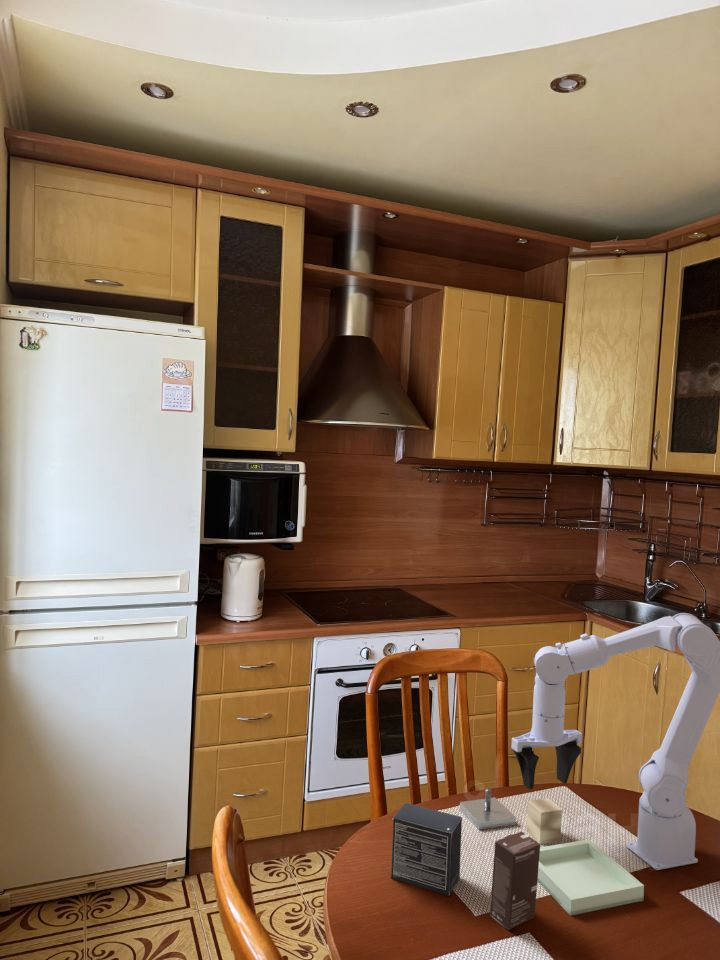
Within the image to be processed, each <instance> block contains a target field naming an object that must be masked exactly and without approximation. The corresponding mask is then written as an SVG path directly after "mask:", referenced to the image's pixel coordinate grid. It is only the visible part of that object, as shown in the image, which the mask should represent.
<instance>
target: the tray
mask: <svg viewBox="0 0 720 960" xmlns="http://www.w3.org/2000/svg"><path fill="white" fill-rule="evenodd" d="M537 883H539V884H540V885H541V886H542V888H544V889H545V890H546V892H547V893H548V894H549V895H550V896H551V897H552V898H553V899H554V900H555V901H556V902H557V903H558V904H559V905H560V907H562V909H564V911H565V912H567V914H568V915H569V916H575V915H581V914H586V913H590V912H594V911H601V910H604V909H610V908H614V907H618V906H619V907H620V906H623V905H624V906H625V905H629V904H633V903H639V902H644V896H645V894H644V893H645V885H644V884H643V883H642V882H640V881H639V879H637V878H636V877H634V875H633V874H631V872H629V871H627V869H625V868H624V867H623V866H622V865H620V864H619V863H618V861H616V860H615V859H613V858H612V857H611V856H610V855H608V854H607V852H605V851H604V850H602V848H601V847H599V845H597V844H596V843H594V842H593V841H592V840H591V839H583V840H577V841H572V842H567V843H566V842H565V843H559V844H552V845H547V846H540V854H539V867H538V880H537Z"/></svg>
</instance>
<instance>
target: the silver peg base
mask: <svg viewBox="0 0 720 960" xmlns="http://www.w3.org/2000/svg"><path fill="white" fill-rule="evenodd" d="M459 810H460V811H461V812H462V813H463V815H464V816H465V817H466V818H467V819H468V820H469V821H470V823H472V824H473V826H475V828H476V829H477V830H478V831H481V830H487V829H494V828H501V827H507V826H515V825H516V820H517V816H515V814H513V813H512V812H511V811H510V810H509V809H508V808H507V807H506V806H505V805H504V804H503V803H502V802H501V801H499V800H498V798H496V797H492V789H491V788H490V787H486V788H484V798H481V799H479V798H478V799H473V800H465V801H460V802H459Z"/></svg>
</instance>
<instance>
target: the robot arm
mask: <svg viewBox="0 0 720 960" xmlns="http://www.w3.org/2000/svg"><path fill="white" fill-rule="evenodd" d="M650 647H658V648H661V649H663V650H664V649H665V650H667V651H670V652H674V653H675V652H676V648H678V649H679V650H680V652H682V654H683V656H684V658H685V660H686V661H687V664H688V666H689V668H690V669H691V674H690V675H689V678H688V680H687V683H686V685H685V688H684V690H683V692H682V695H681V697H680V700H679V701H678V705H677V706H676V709H675V712H674V714H673V717H672V719H671V721H670V723H669V726H668V728H667V731H666V733H665V736H664V738H663V740H662V743H661V745H660V747H659V749H656V750H655V751H654V752H653V753H652V755H651V756H650V757H651V758H650V759H649V760H648V761H647V762H645V763H644V764H643V765H642V766H641V767H640V769H639V772H638V780H639V783H640V785H641V786H642V789H643V793H642V795H641V796H640V797H639V799H638V800H639V801H638V819H637V821H638V822H637V839H636V840H637V841H633V842H626V844H625V847H627V848H628V850H630V851H632V853H634V854H636V855H637V857H639V858H640V859H642V860H643V862H645V863H647V864H648V866H650V867H652V869H654V870H656V871H659V870H665V869H670V868H676V867H680V866H686V865H687V866H688V865H691V864H696V863H698V862H699V859H698V858H697V857H695V851H696V835H697V834H696V833H697V824H696V819H695V816H694V814H693V812H692V810H691V808H689V807H688V806H687V798H686V797H687V796H686V790H687V787H688V785H689V766H690V764H691V761H692V758H693V756H694V754H695V752H696V749H697V747H698V744H699V742H700V740H701V738H702V735H703V732H704V730H705V728H706V726H707V723H708V721H709V719H710V717H711V714H712V711H713V709H714V707H715V705H716V702H717V700H718V697H719V694H720V639H719V638H718V636H717V635H716V634H715V632H714V631H713V630H712V628H710V627H709V626H707V625H706V624H704V623H703V622H702V621H701V620H700V619H699V618H698V617H697V616H695V615H694V614H692V613H687V612H680V613H676V614H674V615H673V616H671V615H668V616H662V617H661V618H658V619H655V620H653V621H650V622H646V623H645V624H642V625H641V624H640V625H639V626H636V627H633V628H630V629H628V630H624V631H622V632H619V633H616V634H614V635H611V636H608V637H604V638H602V637H600V636H598V635H596V634H592V635H588V633H583V634H582V633H581V635H580V637H579V639H576V640H572V641H568V642H565V643H561V642H556V643H555V646H552V645H547V646H543V647H541V648H540V649H538V650H537V652H536V653H535V656H534V658H533V664H534V666H535V677H534V687H533V701H532V722H531V723H532V724H531V729H530V731H529V732H527V733H524V734H522V735H519V736H515V737H511V747H510V748H511V749H512V751H513V753H514V755H515V757H516V760H517V762H518V765H519V769H520V773H521V777H522V781H523V783H522V784H523V786H525V787H526V788H527V789H529V790H533V789H534V785H535V774H536V773H535V772H536V769H537V768H536V767H537V765H538V761H539V759H540V757H539V756H538V755H537V754H535V753H534V750H533V749H538V748H544V747H545V748H546V747H555V753H556V755H555V756H556V779H557V780H558V781H559V782H561V783H562V784H564V785H565V784H567V783H568V780H569V776H570V773H571V771H572V769H573V766H574V764H575V762H576V760H577V759H578V757H579V756H580V755H581V754H582V747H581V746H579V745H580V744H582V742H583V733H582V732H580V731H579V730H577V729H564V728H565V709H566V689H565V681H566V680H567V678H568V676H569V675H571V676H572V675H577V674H580V673H583V672H586V671H590V670H594V669H597V668H600V667H604V666H606V665H607V663H608V662H609V660H610V658H611V657H613V656H618V655H621V654H626V653H629V652H630V653H631V652H635V651H637V650H642V649H645V648H647V649H648V648H650Z"/></svg>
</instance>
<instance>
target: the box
mask: <svg viewBox="0 0 720 960" xmlns="http://www.w3.org/2000/svg"><path fill="white" fill-rule="evenodd" d="M540 847H541V844H539V843H538V842H537V841H536V840H534V839H533V838H532V837H531V836H530V835H529V834H527V833H525V832H523V831H519V832H516V833H514V834H509V835H506V836H505V837H503V838H501V839H500V838H499V839H497V840H495V841H494V851H493V852H494V855H493V865H492V880H491V882H492V883H491V893H490V894H491V895H490V905H489V907H490V908H489V916H490V917H491V918H492V919H493V920H494V921H496V922H497V923H498V924H500V925H501V926H502V927H503V928H504V929H506V930H508V931H511V930H513V929H514V928H516V927H518V926H520V925H522V924H524V923H527V922H528V921H531V920H533V919H534V918H536V917H535V916H536V904H537V891H538V890H537V889H538V888H537V887H538V881H537V880H538V867H539V854H540Z"/></svg>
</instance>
